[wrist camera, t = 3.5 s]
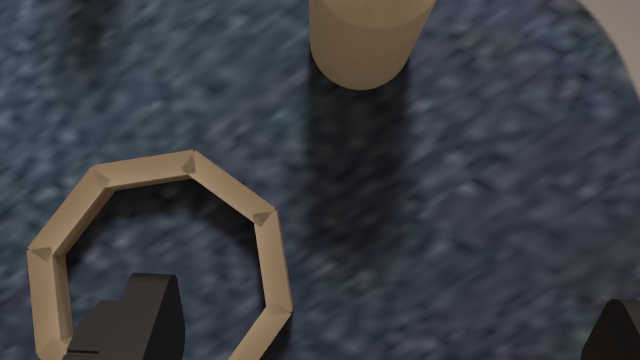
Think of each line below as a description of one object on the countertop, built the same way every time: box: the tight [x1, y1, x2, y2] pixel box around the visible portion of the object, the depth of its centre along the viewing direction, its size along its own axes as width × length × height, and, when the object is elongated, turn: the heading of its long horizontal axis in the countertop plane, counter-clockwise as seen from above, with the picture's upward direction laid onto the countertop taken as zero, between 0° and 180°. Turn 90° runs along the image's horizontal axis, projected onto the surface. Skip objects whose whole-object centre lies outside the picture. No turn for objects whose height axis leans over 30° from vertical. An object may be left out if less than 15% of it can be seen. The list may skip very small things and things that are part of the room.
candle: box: [309, 0, 436, 90], centre depth 26 cm, size 6×6×10 cm
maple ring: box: [27, 150, 293, 360], centre depth 28 cm, size 12×12×2 cm
